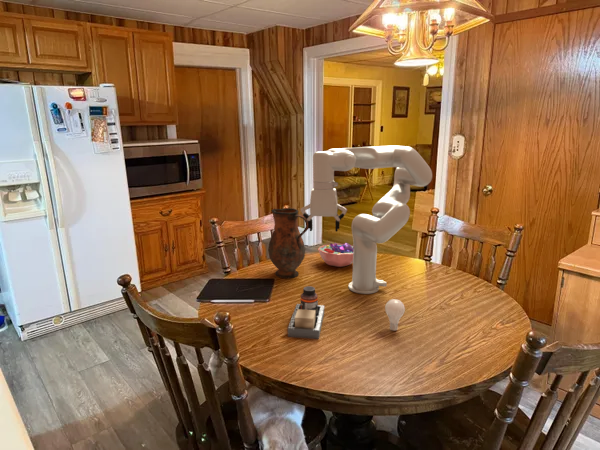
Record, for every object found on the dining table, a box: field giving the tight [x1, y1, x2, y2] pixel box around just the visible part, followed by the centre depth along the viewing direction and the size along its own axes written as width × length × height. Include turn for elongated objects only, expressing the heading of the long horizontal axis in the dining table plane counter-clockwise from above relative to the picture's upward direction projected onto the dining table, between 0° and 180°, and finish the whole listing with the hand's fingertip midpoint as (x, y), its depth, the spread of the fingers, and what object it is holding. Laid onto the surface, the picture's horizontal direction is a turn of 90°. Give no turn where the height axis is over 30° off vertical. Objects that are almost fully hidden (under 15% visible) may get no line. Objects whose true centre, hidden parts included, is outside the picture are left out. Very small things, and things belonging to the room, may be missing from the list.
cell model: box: [317, 242, 353, 268], centre depth 196 cm, size 17×20×11 cm
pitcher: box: [267, 207, 310, 279], centre depth 181 cm, size 17×21×30 cm
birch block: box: [295, 309, 316, 329], centre depth 133 cm, size 6×6×6 cm
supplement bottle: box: [300, 285, 319, 316], centre depth 141 cm, size 6×6×11 cm
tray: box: [287, 303, 325, 340], centre depth 138 cm, size 10×18×4 cm, turn 171°
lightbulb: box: [384, 298, 406, 332], centre depth 135 cm, size 6×6×11 cm
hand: (323, 230), depth 154 cm, fingers open, 9 cm apart
